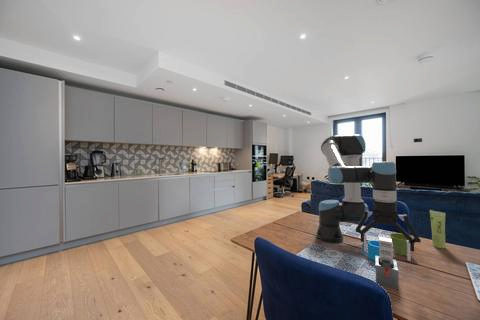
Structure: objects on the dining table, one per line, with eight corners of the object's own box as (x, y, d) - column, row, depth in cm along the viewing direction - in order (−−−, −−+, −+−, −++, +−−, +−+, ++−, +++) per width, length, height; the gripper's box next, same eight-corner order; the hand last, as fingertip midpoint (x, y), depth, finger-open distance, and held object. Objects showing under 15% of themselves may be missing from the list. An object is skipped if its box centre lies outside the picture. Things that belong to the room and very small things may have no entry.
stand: (358, 283, 76) (358, 258, 76) (360, 269, 86) (360, 247, 86) (420, 301, 66) (419, 273, 66) (414, 283, 76) (413, 258, 76)
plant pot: (408, 259, 93) (407, 241, 93) (386, 251, 102) (385, 235, 102) (417, 254, 98) (416, 237, 98) (395, 247, 106) (394, 231, 106)
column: (380, 281, 75) (379, 240, 75) (380, 274, 79) (379, 236, 79) (393, 285, 72) (392, 243, 73) (392, 278, 77) (391, 238, 77)
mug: (392, 263, 91) (392, 245, 91) (381, 267, 87) (381, 249, 87) (367, 252, 102) (367, 236, 102) (356, 255, 98) (356, 239, 99)
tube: (431, 246, 106) (430, 211, 106) (430, 243, 110) (429, 209, 110) (446, 249, 103) (445, 213, 103) (444, 246, 106) (443, 211, 107)
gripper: (347, 199, 80) (348, 250, 80) (430, 206, 66) (432, 268, 66) (349, 196, 86) (350, 243, 86) (425, 202, 72) (427, 259, 72)
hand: (386, 254), depth 76 cm, fingers open, 13 cm apart
